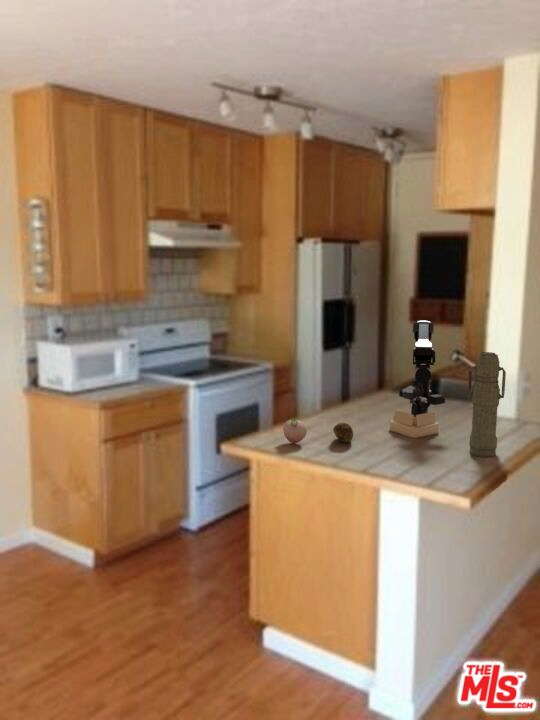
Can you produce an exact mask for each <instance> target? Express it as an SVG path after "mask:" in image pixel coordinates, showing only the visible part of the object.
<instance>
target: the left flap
mask: <svg viewBox="0 0 540 720" xmlns="http://www.w3.org/2000/svg"><path fill="white" fill-rule="evenodd" d="M416 421H417V426H422V425H427V424H432V423H436V422H437V421H436V412H435V411H430V412H428V413H424V414H419V415H416Z"/></svg>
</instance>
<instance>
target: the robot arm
mask: <svg viewBox="0 0 540 720" xmlns="http://www.w3.org/2000/svg"><path fill="white" fill-rule="evenodd" d="M434 327H435V324H434V323H432V322H431V321H428V320H418V321H416V322H414V323H412V335H413V338H414V340H415V343H414V345H415V346H414V347H413V348H412V365H414V380H413V379H412V381H411V384H410V385H408V386H407V387H405V388H401V389H400V390H399V393H398V396H399V397H400V398H403V399H405V400H409V404H411V412H410V414H412V415H414V417H416V415H419V414H424V413H429V411H428V410H429V407H430V406H431V405H433V406H436V405H437V406H438V405H442V404H446V397H445V396H444V395H441V394H437V393H436V394H433V392H432V390H431V389H430V388H431V385H432V384H433V381H432V380H431V378H432V372H431V366H434V365H435V363H436V351H435V349H434V348H433V343H432V342H431V339H432V335H434V332H435V331H434V330H435V328H434Z"/></svg>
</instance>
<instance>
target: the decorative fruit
mask: <svg viewBox="0 0 540 720" xmlns="http://www.w3.org/2000/svg"><path fill="white" fill-rule="evenodd" d="M282 430H283V435H284V436H285V438H286V439H287V441H288V442H289V443H290V444H291V445H292V444H293V445H296V444H297V443H300V442H301V441H303V440H304V439H305V437H306V436H307V432H308V429H307V426H306V424H305V423H304V422H303V421H301V420H299V419H297V418H296V417H294V416H293V418H290V419H289V420H287V421H286V422H285V423H284V425H283V427H282Z"/></svg>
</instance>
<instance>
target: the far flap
mask: <svg viewBox="0 0 540 720" xmlns="http://www.w3.org/2000/svg"><path fill="white" fill-rule="evenodd" d="M413 419H414V415H412V414H411V413H408V412H405V411H401V410H398V409H395V410H394V415H393V419H392V420H393V421H396V422H400V423H403V424H407V425H410V426H412V425H413Z"/></svg>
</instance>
